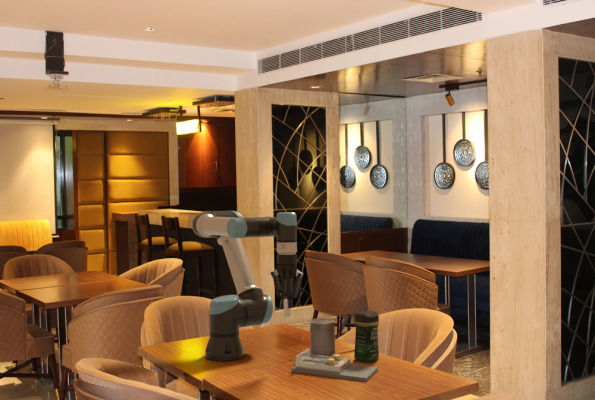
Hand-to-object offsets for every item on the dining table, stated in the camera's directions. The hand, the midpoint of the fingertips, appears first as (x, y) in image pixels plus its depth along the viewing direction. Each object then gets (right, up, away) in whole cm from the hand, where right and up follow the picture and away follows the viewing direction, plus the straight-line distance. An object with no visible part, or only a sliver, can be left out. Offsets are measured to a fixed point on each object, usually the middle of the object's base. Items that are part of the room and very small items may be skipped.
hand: (287, 316), depth 215 cm
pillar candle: (+14, -18, +14) cm, 27 cm away
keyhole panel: (+13, -17, -6) cm, 22 cm away
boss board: (+17, -18, -8) cm, 26 cm away
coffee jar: (+31, -18, +7) cm, 36 cm away
